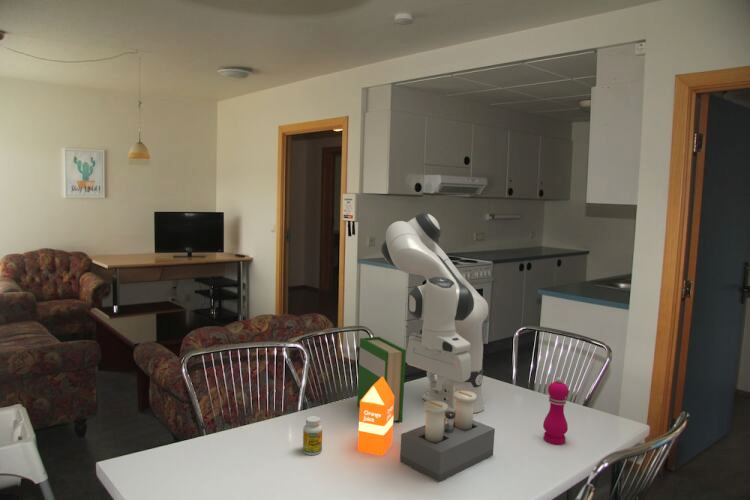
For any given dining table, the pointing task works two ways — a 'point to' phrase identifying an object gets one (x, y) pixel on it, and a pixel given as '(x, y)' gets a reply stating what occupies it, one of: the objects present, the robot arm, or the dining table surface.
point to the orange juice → (376, 419)
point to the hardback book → (382, 370)
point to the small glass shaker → (449, 421)
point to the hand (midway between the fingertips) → (435, 388)
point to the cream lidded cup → (464, 409)
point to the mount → (447, 450)
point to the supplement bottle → (312, 436)
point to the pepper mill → (556, 413)
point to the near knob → (434, 420)
